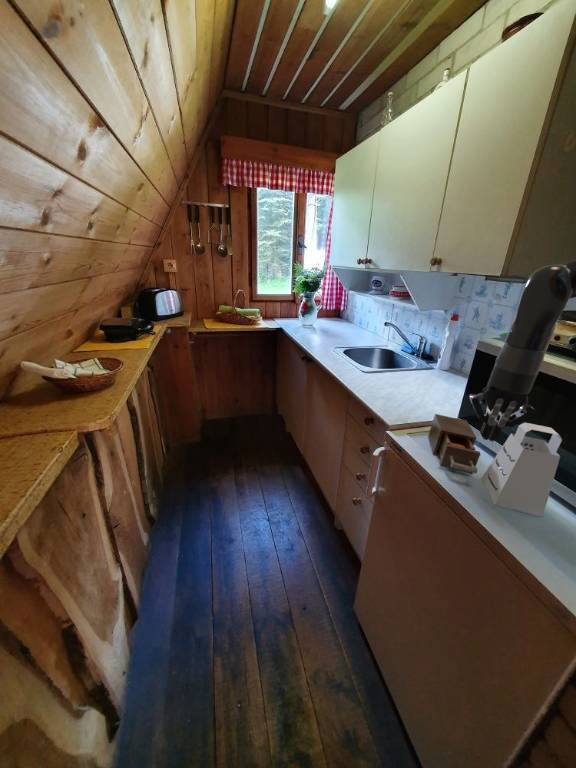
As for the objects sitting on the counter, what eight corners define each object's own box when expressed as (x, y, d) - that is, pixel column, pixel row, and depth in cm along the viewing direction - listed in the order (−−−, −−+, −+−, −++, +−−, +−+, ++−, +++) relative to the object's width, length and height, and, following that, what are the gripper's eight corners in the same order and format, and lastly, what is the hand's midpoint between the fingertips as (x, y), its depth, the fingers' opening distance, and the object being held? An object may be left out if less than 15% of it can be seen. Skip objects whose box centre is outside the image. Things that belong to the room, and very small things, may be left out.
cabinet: (467, 462, 91) (476, 437, 88) (433, 454, 93) (441, 430, 90) (458, 443, 102) (466, 420, 99) (428, 436, 104) (435, 413, 101)
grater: (481, 478, 84) (508, 414, 77) (523, 488, 82) (555, 423, 75) (494, 504, 75) (526, 434, 68) (542, 516, 73) (581, 445, 65)
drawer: (477, 485, 80) (486, 463, 77) (443, 476, 82) (450, 455, 79) (463, 454, 94) (470, 435, 91) (434, 447, 96) (440, 428, 93)
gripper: (486, 366, 62) (459, 439, 68) (562, 379, 59) (527, 454, 65) (476, 357, 69) (452, 424, 75) (544, 368, 66) (513, 437, 72)
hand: (487, 438), depth 70 cm, fingers closed
